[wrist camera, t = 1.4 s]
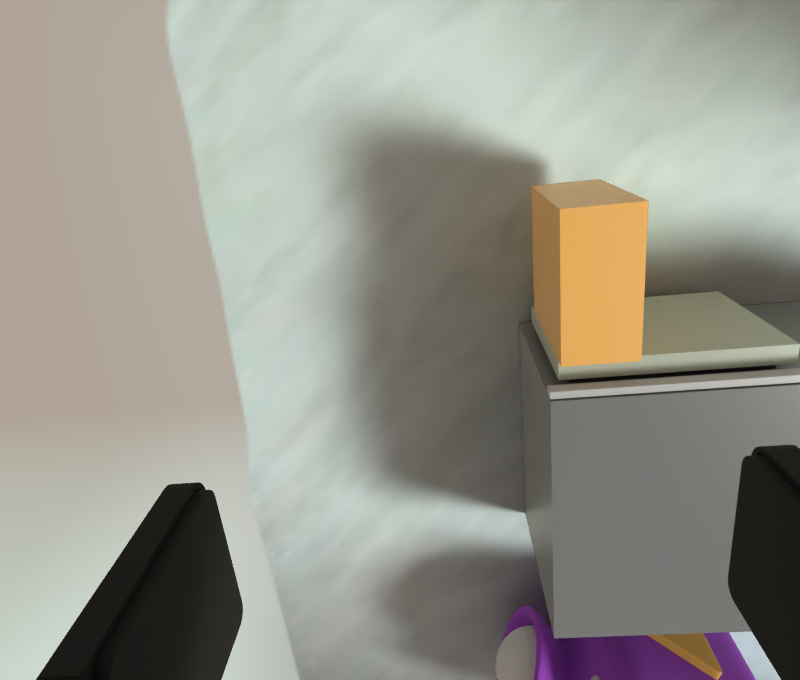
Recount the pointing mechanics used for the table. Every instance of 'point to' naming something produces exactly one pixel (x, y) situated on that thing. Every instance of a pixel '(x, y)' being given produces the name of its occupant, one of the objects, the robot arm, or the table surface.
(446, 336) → the table surface
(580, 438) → the box
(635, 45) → the table surface
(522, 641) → the toy camera
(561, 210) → the orange block handle
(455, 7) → the table surface
